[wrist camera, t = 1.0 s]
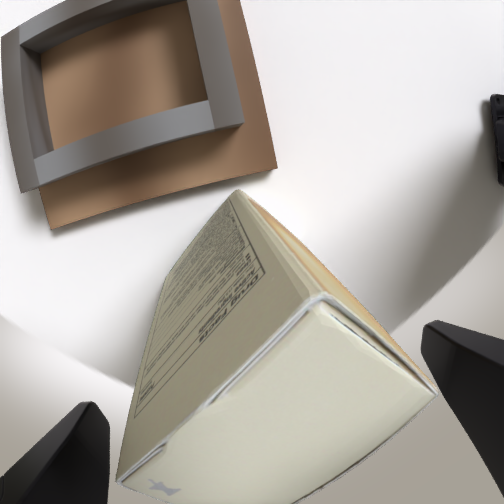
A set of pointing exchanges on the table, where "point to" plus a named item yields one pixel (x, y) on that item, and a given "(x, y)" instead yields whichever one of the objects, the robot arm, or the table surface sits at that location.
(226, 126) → the holder
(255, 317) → the skincare box
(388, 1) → the table surface
